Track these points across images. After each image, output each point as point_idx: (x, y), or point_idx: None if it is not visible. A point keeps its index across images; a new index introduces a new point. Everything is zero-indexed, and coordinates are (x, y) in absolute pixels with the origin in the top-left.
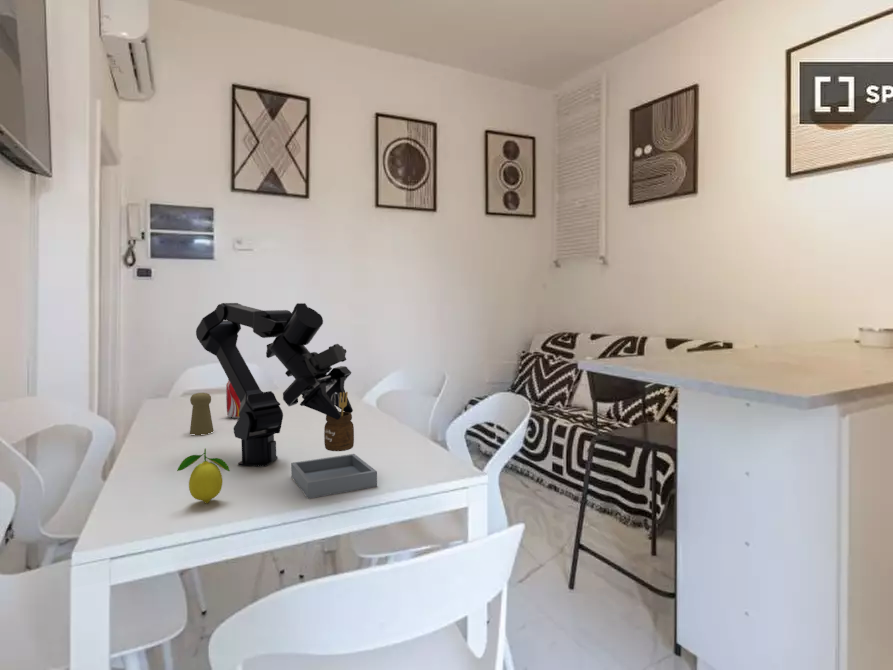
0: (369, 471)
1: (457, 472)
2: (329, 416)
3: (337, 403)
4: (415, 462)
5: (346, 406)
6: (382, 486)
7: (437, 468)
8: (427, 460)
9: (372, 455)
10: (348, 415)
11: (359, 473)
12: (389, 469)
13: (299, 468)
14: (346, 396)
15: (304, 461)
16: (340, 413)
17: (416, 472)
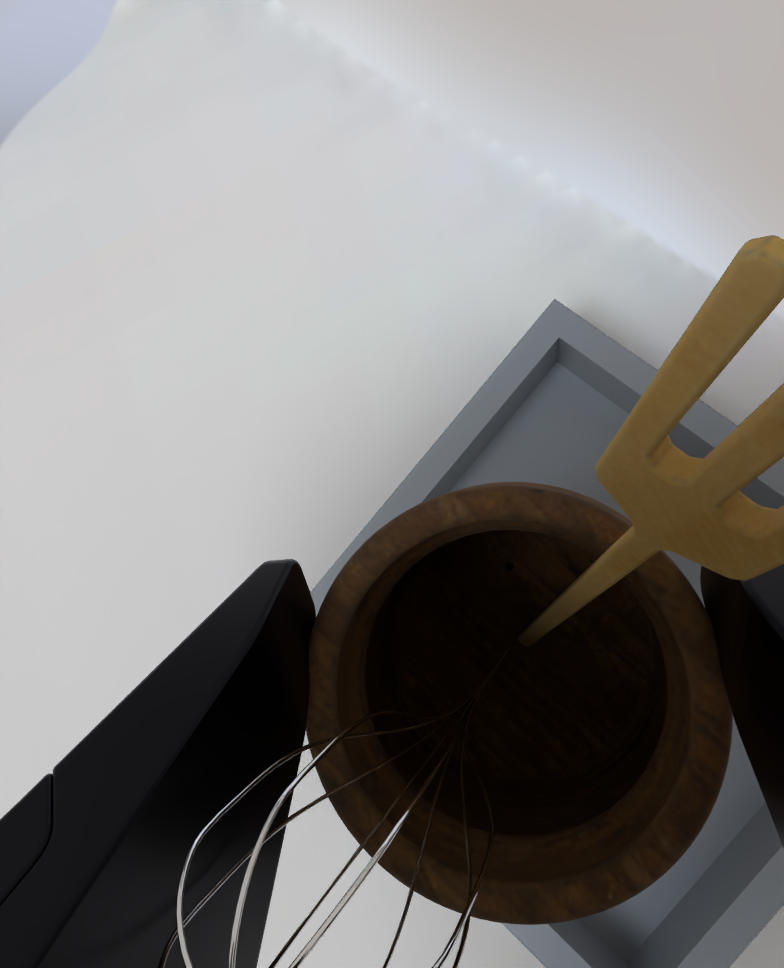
0: (578, 343)
1: (183, 66)
2: (723, 771)
3: (242, 913)
4: (93, 348)
5: (273, 675)
6: (538, 309)
7: (154, 187)
8: (42, 303)
9: (39, 666)
10: (525, 490)
11: (647, 382)
12: (253, 425)
13: (745, 900)
14: (713, 345)
15: (564, 963)
16: (418, 716)
17: (251, 256)
